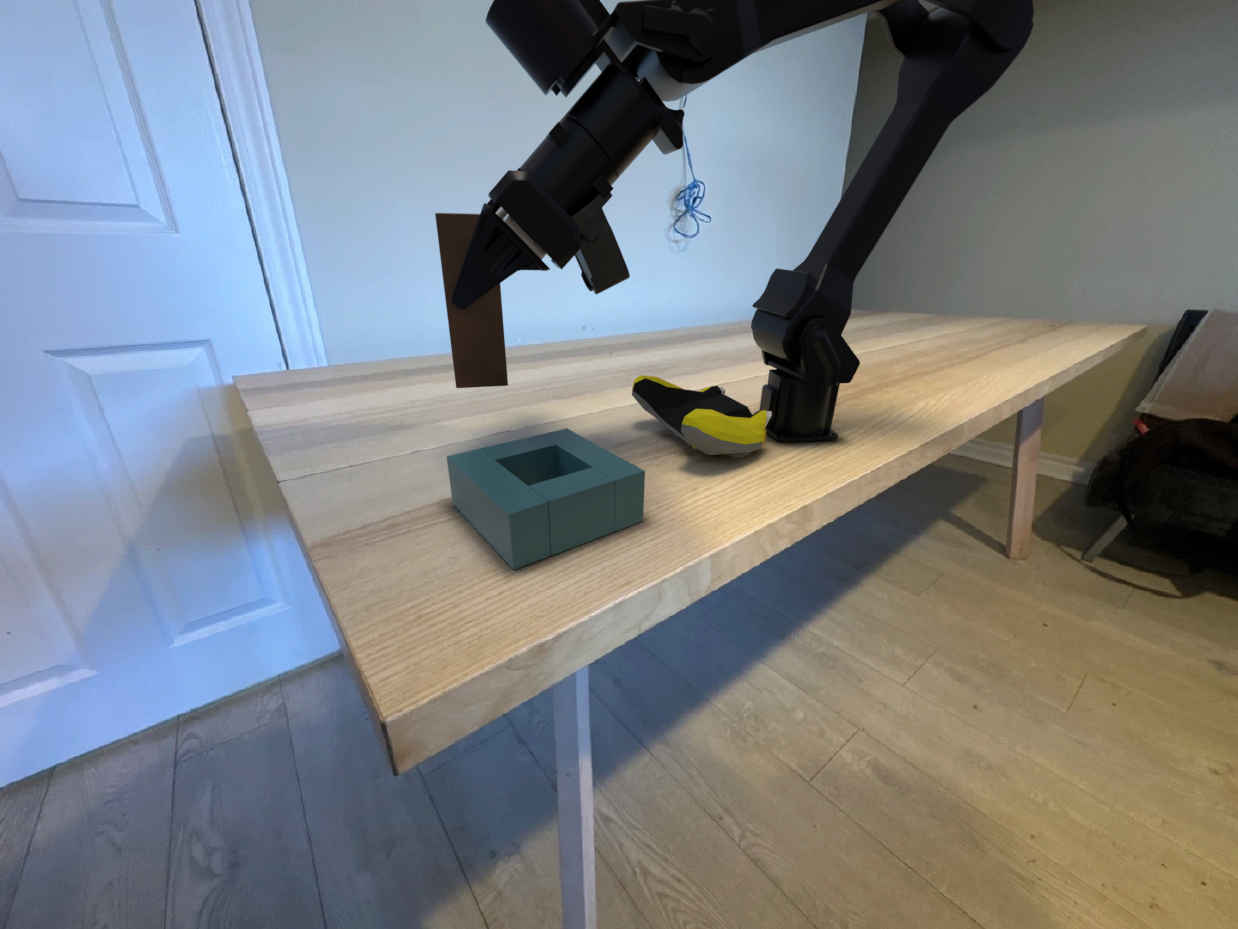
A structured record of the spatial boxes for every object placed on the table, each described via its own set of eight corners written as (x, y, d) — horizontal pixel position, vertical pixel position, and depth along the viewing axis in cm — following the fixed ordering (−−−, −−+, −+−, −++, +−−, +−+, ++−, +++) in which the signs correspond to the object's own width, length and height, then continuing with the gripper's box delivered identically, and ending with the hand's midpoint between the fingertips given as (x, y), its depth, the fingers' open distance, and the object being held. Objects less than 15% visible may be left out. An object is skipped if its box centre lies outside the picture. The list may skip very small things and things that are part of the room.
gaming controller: (689, 479, 43) (787, 463, 47) (694, 417, 41) (797, 405, 44) (624, 422, 56) (704, 412, 59) (625, 372, 54) (709, 365, 57)
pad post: (506, 373, 47) (493, 215, 42) (508, 385, 43) (494, 214, 38) (458, 375, 46) (439, 214, 41) (456, 388, 42) (434, 212, 37)
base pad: (568, 471, 44) (566, 427, 43) (643, 521, 37) (645, 470, 35) (452, 504, 39) (446, 455, 37) (513, 570, 31) (509, 513, 30)
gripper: (699, 233, 35) (543, 399, 37) (629, 231, 51) (524, 346, 53) (582, 82, 30) (410, 285, 32) (546, 134, 46) (434, 265, 49)
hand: (457, 301), depth 42 cm, fingers closed on pad post, 4 cm apart
